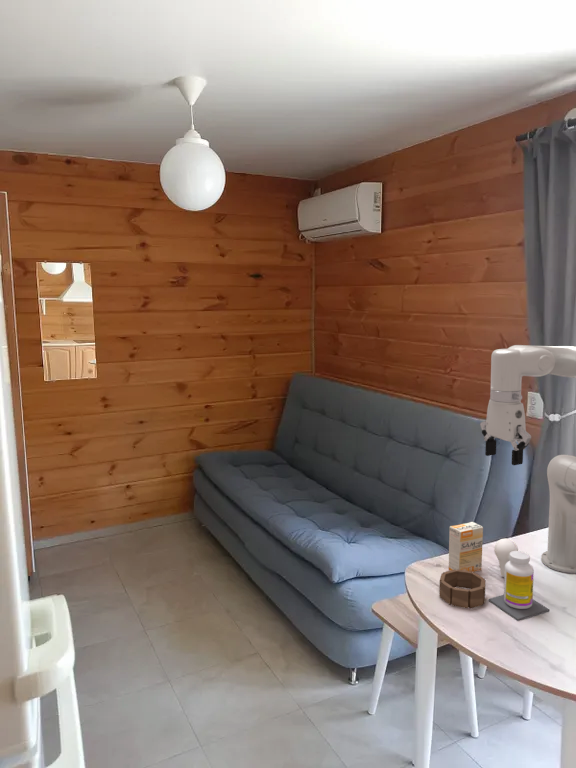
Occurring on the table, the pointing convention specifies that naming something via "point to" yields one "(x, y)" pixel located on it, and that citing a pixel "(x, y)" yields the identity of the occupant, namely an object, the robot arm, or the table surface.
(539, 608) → the mat
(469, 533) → the supplement box
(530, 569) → the supplement bottle
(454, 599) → the ring stand
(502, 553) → the lightbulb
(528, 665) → the table surface
